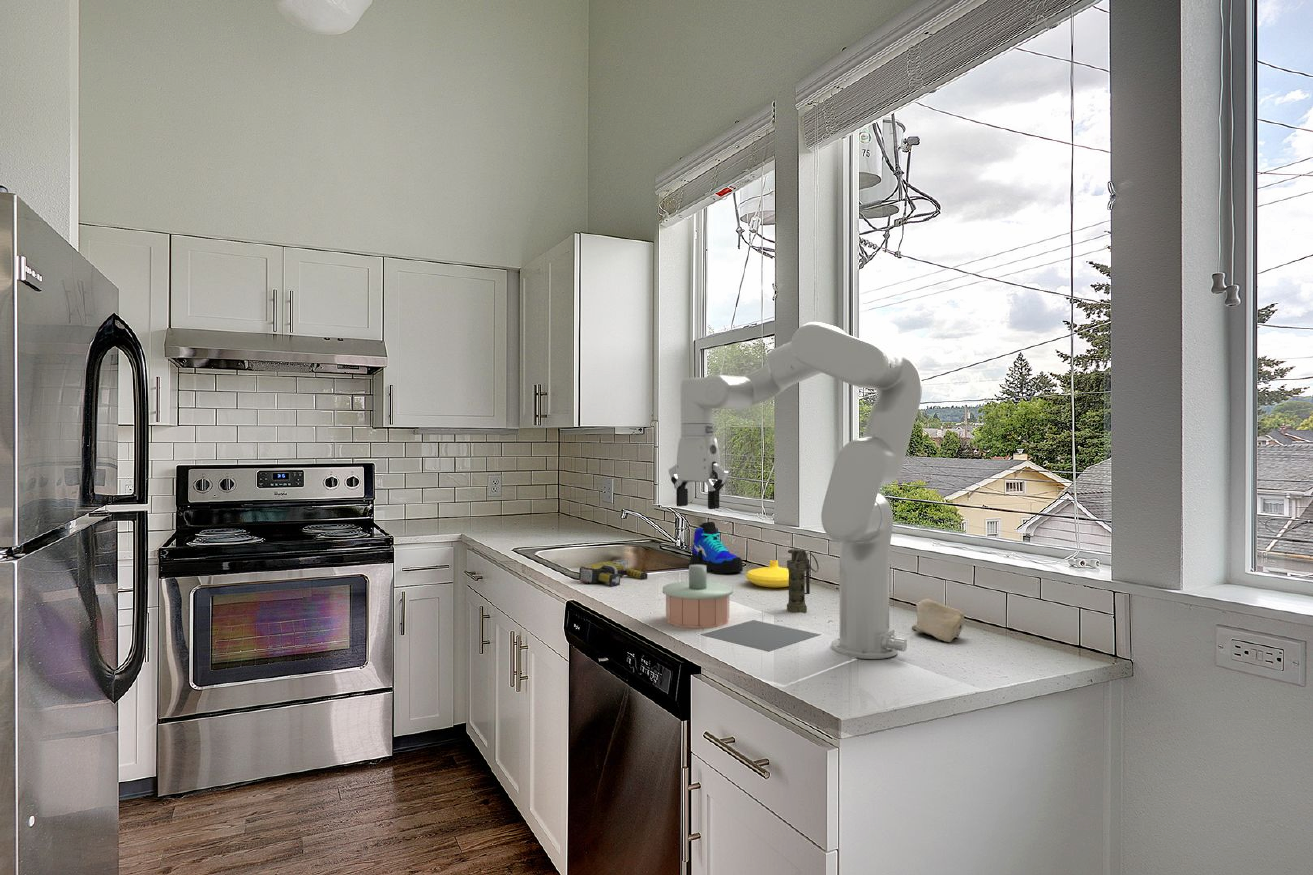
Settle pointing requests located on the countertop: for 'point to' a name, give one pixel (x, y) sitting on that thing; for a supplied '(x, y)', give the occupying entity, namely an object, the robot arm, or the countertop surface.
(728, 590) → the lid
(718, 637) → the mat
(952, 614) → the decorative stone
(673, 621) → the bowl
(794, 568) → the grenade
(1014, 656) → the countertop surface
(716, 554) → the sneaker
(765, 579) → the vase
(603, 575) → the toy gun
